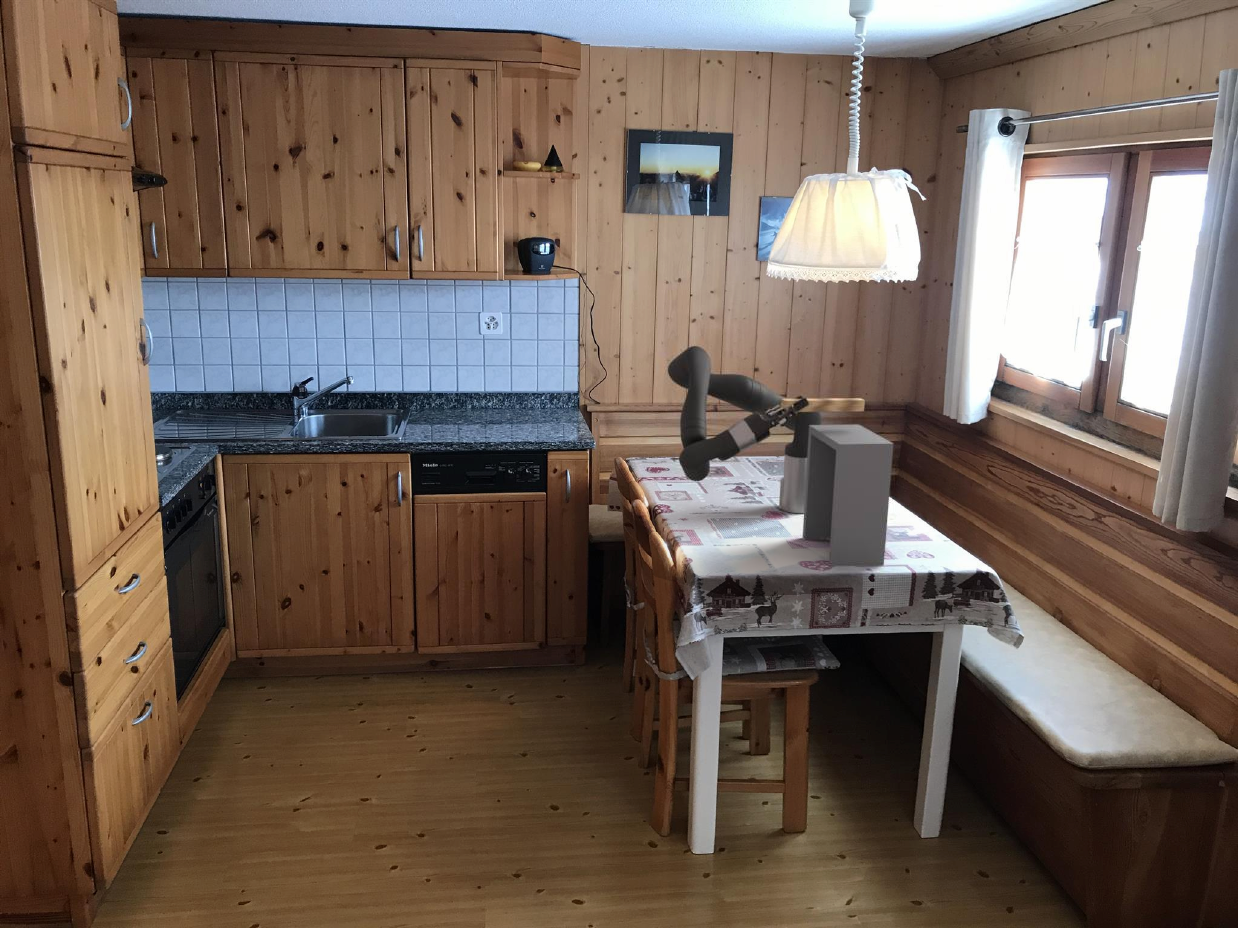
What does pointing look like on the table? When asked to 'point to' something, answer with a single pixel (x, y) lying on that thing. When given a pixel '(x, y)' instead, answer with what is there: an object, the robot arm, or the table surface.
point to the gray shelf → (848, 492)
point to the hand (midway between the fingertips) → (804, 399)
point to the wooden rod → (828, 404)
